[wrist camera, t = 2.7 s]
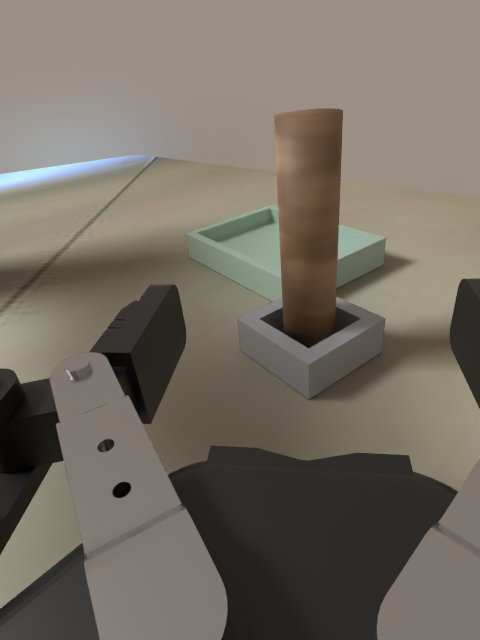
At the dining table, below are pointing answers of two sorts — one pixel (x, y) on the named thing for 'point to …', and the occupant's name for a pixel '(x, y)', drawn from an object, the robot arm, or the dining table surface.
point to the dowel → (309, 219)
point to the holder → (321, 359)
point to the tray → (273, 251)
